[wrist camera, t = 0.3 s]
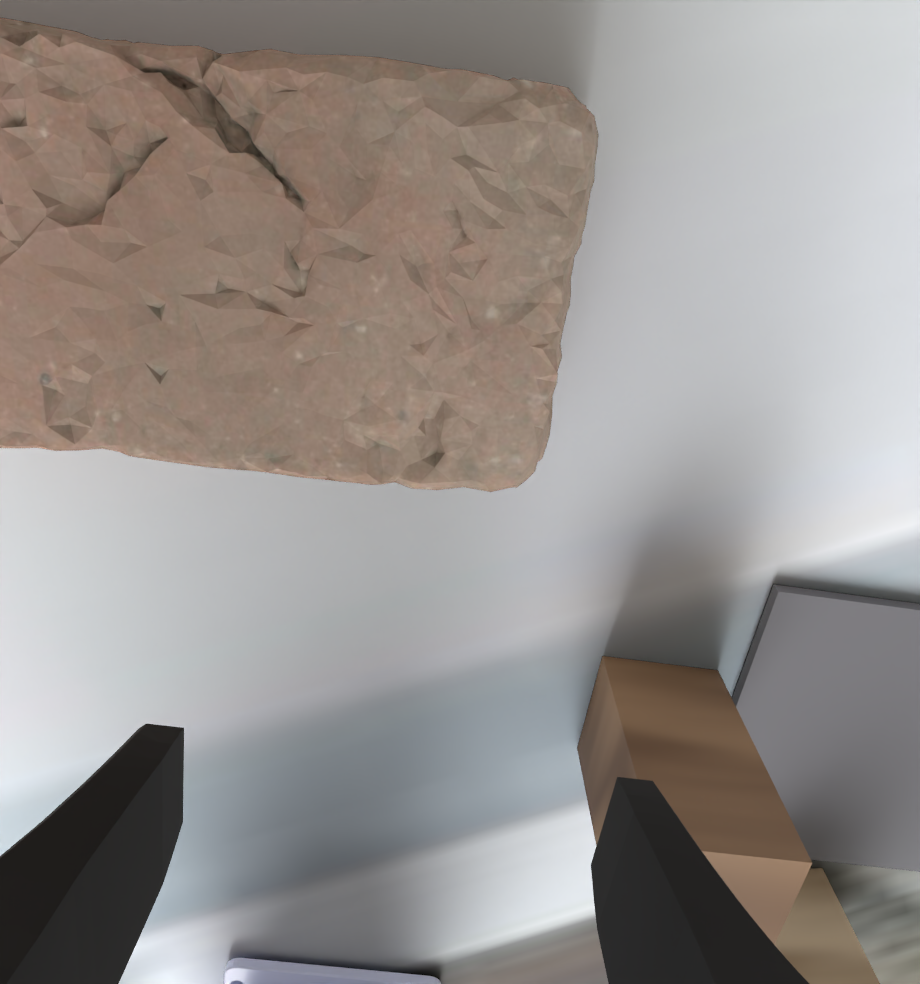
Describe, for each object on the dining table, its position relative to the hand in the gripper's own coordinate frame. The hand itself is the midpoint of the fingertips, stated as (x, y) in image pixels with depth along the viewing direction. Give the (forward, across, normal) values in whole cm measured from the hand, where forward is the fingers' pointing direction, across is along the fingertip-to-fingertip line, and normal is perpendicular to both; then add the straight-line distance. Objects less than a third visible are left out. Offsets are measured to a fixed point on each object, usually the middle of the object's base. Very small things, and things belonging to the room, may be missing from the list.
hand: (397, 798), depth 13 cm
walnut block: (+10, -8, +5) cm, 14 cm away
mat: (+10, -15, +5) cm, 19 cm away
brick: (+10, +6, -7) cm, 14 cm away
